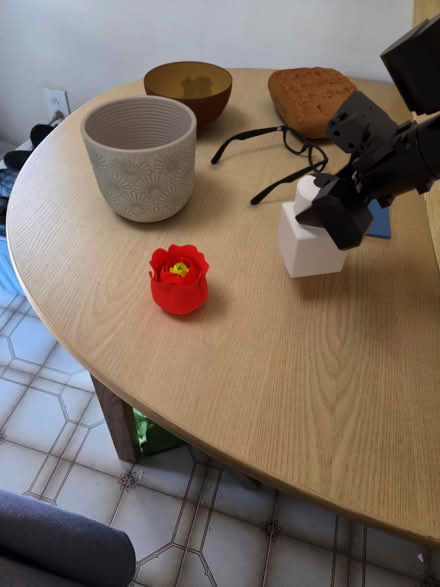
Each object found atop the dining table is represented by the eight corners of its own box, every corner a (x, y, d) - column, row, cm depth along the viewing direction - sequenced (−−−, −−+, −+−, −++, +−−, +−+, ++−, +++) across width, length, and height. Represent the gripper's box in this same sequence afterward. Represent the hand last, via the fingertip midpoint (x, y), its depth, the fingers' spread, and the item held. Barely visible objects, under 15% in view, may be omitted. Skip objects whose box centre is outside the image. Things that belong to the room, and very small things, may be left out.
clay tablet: (261, 101, 100) (265, 65, 94) (329, 94, 103) (336, 59, 97) (295, 150, 86) (301, 112, 80) (371, 141, 89) (383, 103, 83)
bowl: (180, 157, 84) (177, 107, 76) (133, 122, 93) (126, 74, 85) (247, 130, 91) (250, 82, 84) (198, 100, 100) (197, 54, 92)
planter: (158, 251, 66) (147, 165, 55) (79, 213, 72) (54, 128, 61) (217, 196, 76) (218, 113, 64) (143, 166, 82) (132, 85, 70)
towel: (386, 195, 77) (387, 192, 76) (389, 239, 69) (390, 236, 69) (324, 187, 78) (325, 184, 78) (321, 229, 70) (322, 226, 70)
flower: (143, 314, 58) (135, 273, 52) (167, 275, 63) (162, 234, 57) (196, 330, 56) (195, 290, 50) (217, 289, 61) (217, 249, 55)
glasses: (332, 184, 80) (339, 160, 76) (253, 208, 74) (256, 183, 70) (282, 143, 89) (286, 120, 86) (207, 161, 83) (208, 137, 79)
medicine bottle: (323, 237, 61) (342, 163, 52) (341, 272, 56) (365, 197, 47) (275, 243, 60) (285, 168, 51) (289, 279, 56) (303, 204, 47)
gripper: (419, 43, 44) (304, 119, 56) (355, 116, 33) (231, 190, 45) (466, 136, 47) (347, 189, 59) (421, 229, 36) (288, 270, 48)
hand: (308, 206), depth 53 cm, fingers closed on medicine bottle, 6 cm apart
